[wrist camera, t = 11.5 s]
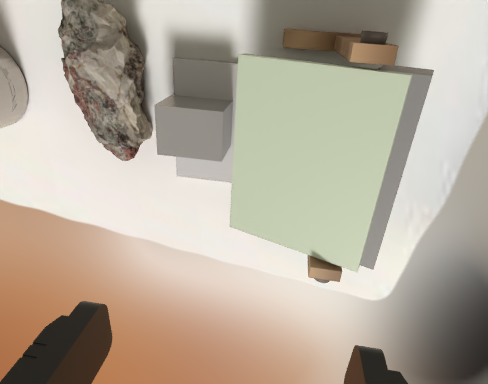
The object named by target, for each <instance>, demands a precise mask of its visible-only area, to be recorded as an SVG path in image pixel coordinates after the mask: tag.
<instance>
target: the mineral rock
mask: <svg viewBox="0 0 488 384" xmlns="http://www.w3.org/2000/svg"><path fill="white" fill-rule="evenodd" d="M61 6H62V17H63V19H62V20H61V25H60V27H59V29H58V32H59V37H60V38H61V39H62V47H63V52H64V58H61V60H62V62H63V70H64V72H65V75H64V76H65V77H66V80H67V81H68V83H69V86H70V89H71V91H72V93H73V94H74V98H75V103H76V104H77V105H78V106H79V107H80V109H81V110H82V112H83V114H84V119H85V120H86V121H87V122H88V125H89V127H90V128H91V131H92V132H93V133H94V135H95V137H96V139H97V141H98V142H99V143H102V144H103V145H104V147H105V148H106V149H107V150H109V151H111V152H112V153H113V154H114V155H115V156H116V157H117V158H119V159H121V160H122V161H128V160H130V159H132V158H134V156H135V155H136V154H137V152H138V149H139V147H140V145H141V143H142V142H143V141H145V140H147V139H150V137H151V135H152V126H151V123H150V122H148V120H147V118H146V115H145V113H144V111H143V110H142V108H141V106H140V104H141V103H142V101H143V98H144V88H143V85H142V83H141V79H142V75H143V70H144V66H145V60H144V58H143V56H142V54H141V51H140V50H139V48H138V46H137V45H135V44H134V43H132V42H131V41H130V40H129V37H128V35H127V31H126V28H127V24H126V19H125V18H124V17H123V16H122V15H120V14H119V13H118V12H117V10H116V9H115V8H114V7H113V6H112V5H111V4H105V3H99V2H98V1H97V0H62V1H61Z"/></svg>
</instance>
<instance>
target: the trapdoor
mask: <svg viewBox="0 0 488 384" xmlns="http://www.w3.org/2000/svg"><path fill="white" fill-rule="evenodd" d="M433 72H434V70H429V69H420V68H411V67H402V66H392V65H384V66H382V67H381V68H379V69H370V68H361V67H353V66H344V65H336V64H328V63H319V62H311V61H302V60H294V59H285V58H277V57H268V56H260V55H252V54H239V55H238V72H237V92H236V111H235V131H234V151H233V171H232V191H231V211H230V227H232V228H235V229H238V230H240V231H243V232H246V233H249V234H252V235H254V236H257V237H260V238H263V239H266V240H268V241H271V242H274V243H277V244H279V245H282V246H285V247H288V248H291V249H293V250H296V251H299V252H302V253H305V254H307V255H310V256H313V257H316V258H318V259H321V260H324V261H327V262H330V263H332V264H335V265H338V266H341V267H343V268H346V269H349V270H352V271H355V272H357V271H358V268H359V266H360V265H361V266H364V267H367V268H370V269H374V266H375V262H376V259H377V256H378V253H379V249H380V246H381V243H382V240H383V236H384V233H385V230H386V227H387V223H388V220H389V217H390V213H391V210H392V207H393V203H394V200H395V197H396V194H397V190H398V187H399V184H400V180H401V177H402V174H403V171H404V167H405V164H406V161H407V157H408V154H409V151H410V148H411V144H412V141H413V138H414V134H415V131H416V128H417V125H418V121H419V118H420V115H421V111H422V108H423V105H424V101H425V98H426V95H427V92H428V88H429V85H430V82H431V78H432V75H433Z"/></svg>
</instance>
